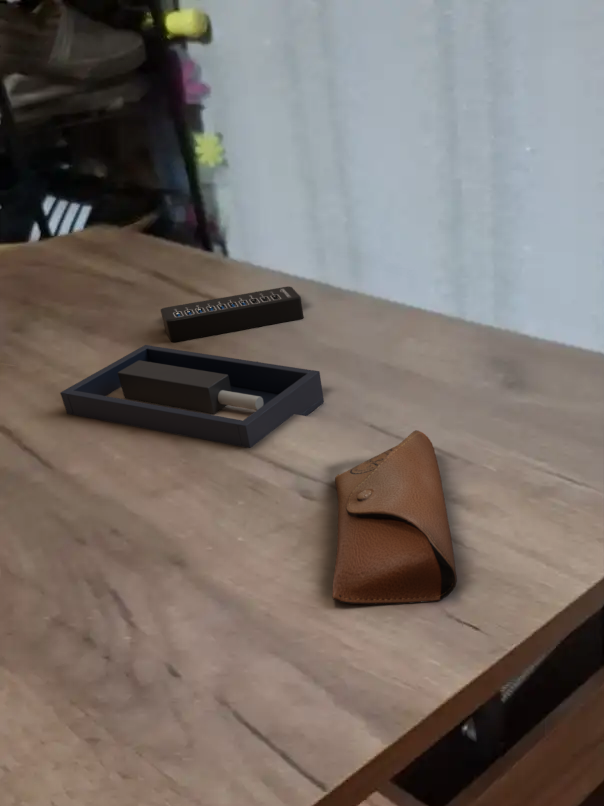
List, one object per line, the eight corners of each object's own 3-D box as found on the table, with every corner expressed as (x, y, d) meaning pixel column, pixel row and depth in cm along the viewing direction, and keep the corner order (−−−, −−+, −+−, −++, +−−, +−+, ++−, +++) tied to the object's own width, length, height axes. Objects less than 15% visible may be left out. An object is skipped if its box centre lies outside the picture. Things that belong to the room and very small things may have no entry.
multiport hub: (164, 329, 103) (159, 307, 102) (294, 305, 108) (290, 285, 106) (171, 342, 100) (166, 321, 99) (304, 318, 104) (301, 297, 103)
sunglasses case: (328, 472, 75) (363, 401, 72) (407, 504, 78) (444, 437, 75) (329, 606, 62) (373, 525, 58) (426, 639, 64) (473, 564, 61)
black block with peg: (125, 403, 87) (116, 372, 85) (147, 390, 89) (138, 359, 87) (253, 426, 83) (246, 394, 81) (272, 412, 85) (266, 380, 83)
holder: (70, 423, 85) (59, 392, 84) (153, 374, 94) (145, 344, 92) (252, 458, 79) (245, 425, 77) (324, 402, 87) (319, 370, 85)
